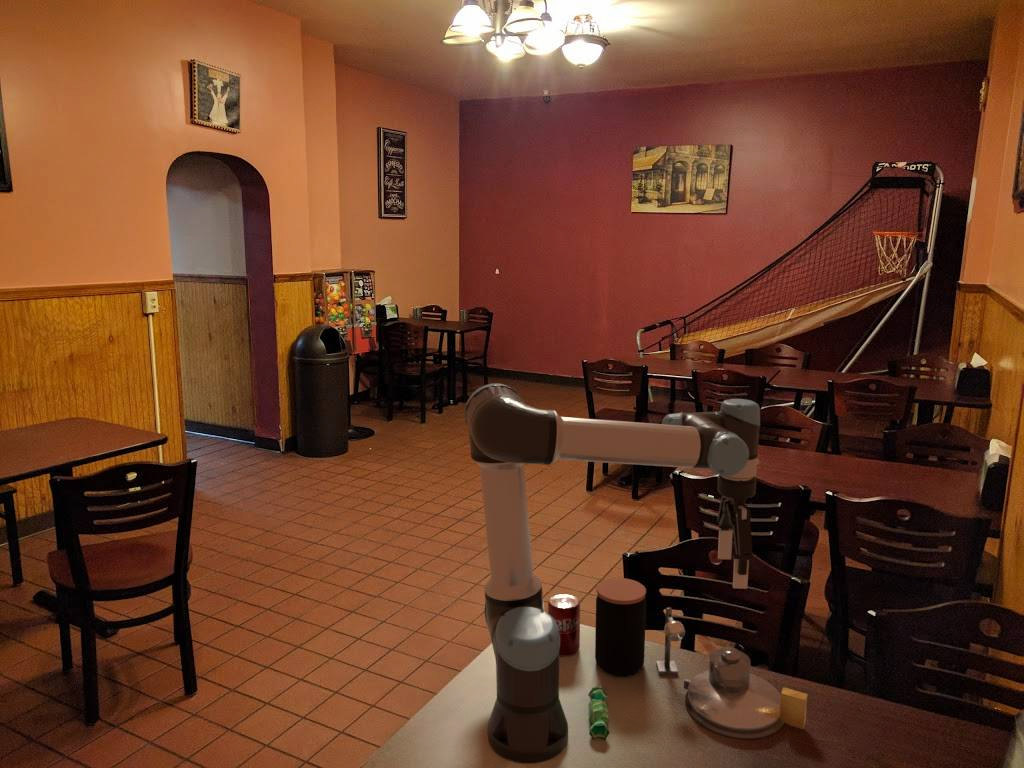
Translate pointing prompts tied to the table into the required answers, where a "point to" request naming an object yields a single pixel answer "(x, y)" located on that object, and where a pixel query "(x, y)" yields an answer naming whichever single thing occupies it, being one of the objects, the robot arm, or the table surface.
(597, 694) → the candy
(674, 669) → the dial stand
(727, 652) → the cover
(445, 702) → the table surface
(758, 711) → the turntable
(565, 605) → the soda can
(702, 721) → the turntable base
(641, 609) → the coffee jar
